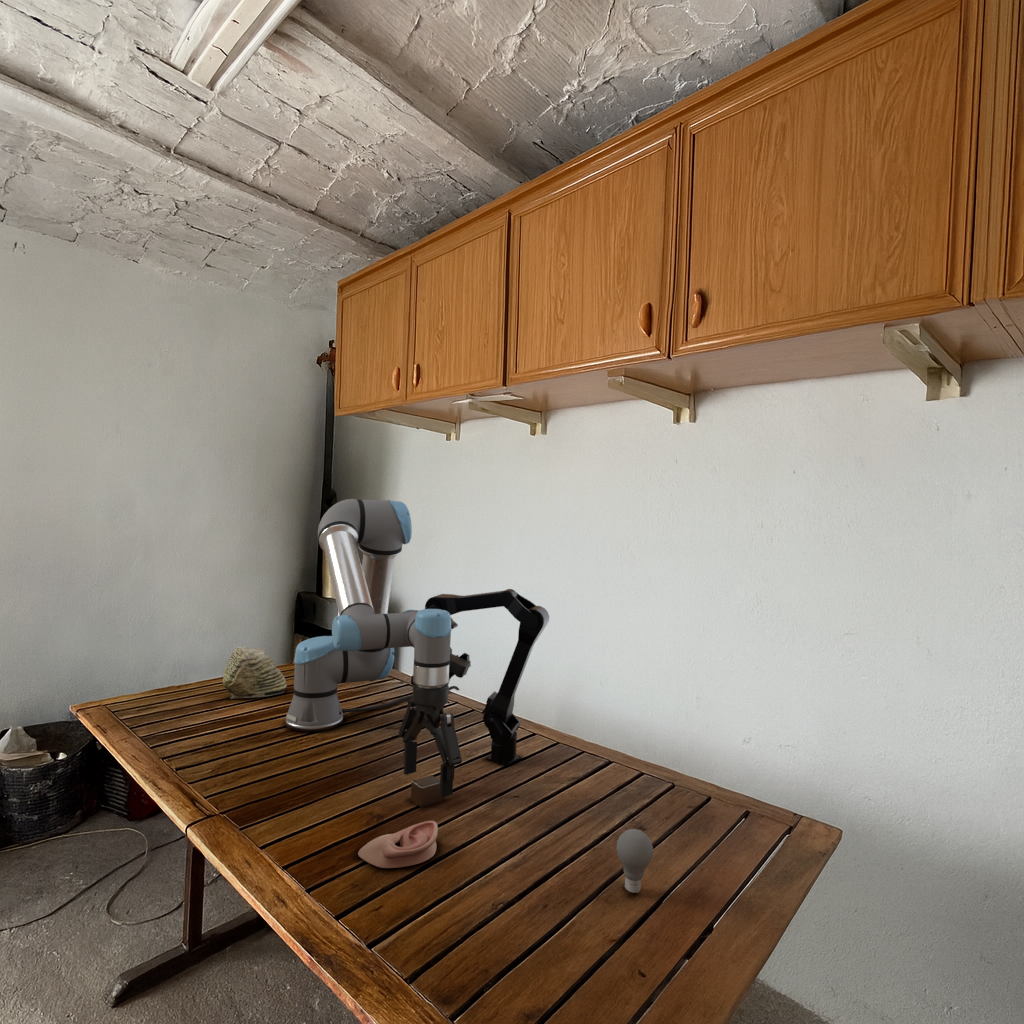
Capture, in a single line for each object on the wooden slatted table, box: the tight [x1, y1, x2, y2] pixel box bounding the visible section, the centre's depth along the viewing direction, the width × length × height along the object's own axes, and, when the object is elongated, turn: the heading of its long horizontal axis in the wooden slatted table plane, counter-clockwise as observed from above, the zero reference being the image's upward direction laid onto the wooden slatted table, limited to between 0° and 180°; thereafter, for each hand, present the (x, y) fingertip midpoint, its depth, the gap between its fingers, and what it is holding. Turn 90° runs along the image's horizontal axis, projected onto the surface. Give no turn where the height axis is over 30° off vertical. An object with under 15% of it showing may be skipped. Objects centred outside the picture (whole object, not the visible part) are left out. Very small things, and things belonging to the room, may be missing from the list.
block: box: [410, 774, 443, 808], centre depth 134 cm, size 5×4×4 cm
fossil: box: [222, 646, 288, 699], centre depth 198 cm, size 9×18×15 cm, turn 132°
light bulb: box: [615, 828, 654, 894], centre depth 106 cm, size 6×6×10 cm
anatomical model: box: [357, 820, 439, 869], centre depth 114 cm, size 13×4×12 cm
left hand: (427, 784), depth 134 cm, fingers open, 13 cm apart
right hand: (435, 704), depth 162 cm, fingers open, 9 cm apart
